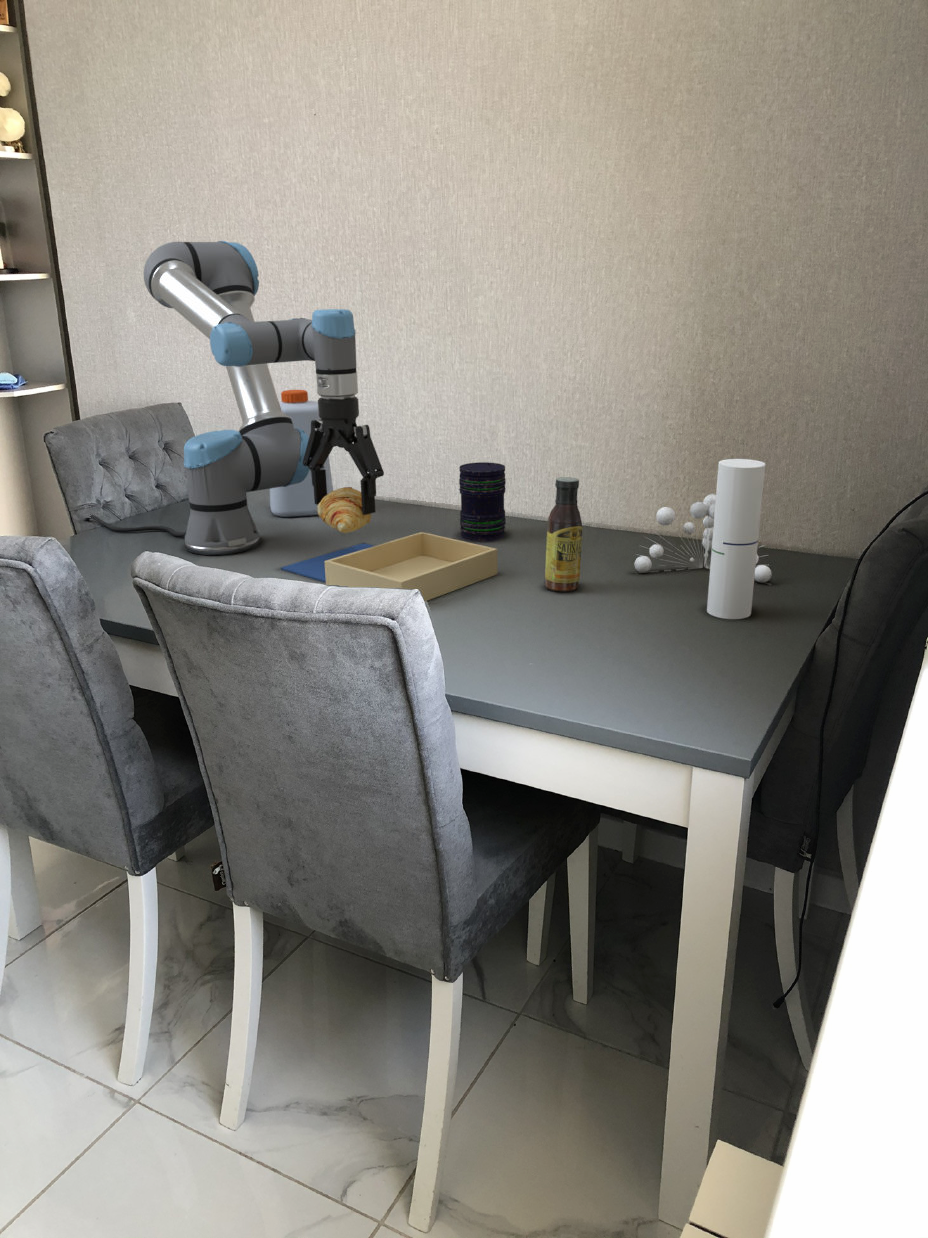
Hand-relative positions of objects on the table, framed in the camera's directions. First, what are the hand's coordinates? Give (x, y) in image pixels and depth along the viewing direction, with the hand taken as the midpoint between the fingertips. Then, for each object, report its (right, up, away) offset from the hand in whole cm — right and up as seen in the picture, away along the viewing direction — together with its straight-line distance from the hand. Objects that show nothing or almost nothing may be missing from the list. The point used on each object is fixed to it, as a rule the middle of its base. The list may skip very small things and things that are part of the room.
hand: (344, 508), depth 187 cm
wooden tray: (+14, -14, -7) cm, 21 cm away
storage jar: (+27, -4, +21) cm, 35 cm away
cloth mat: (0, -10, +4) cm, 11 cm away
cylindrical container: (+67, -20, -25) cm, 75 cm away
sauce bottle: (+41, -16, -12) cm, 46 cm away
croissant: (0, -3, +1) cm, 3 cm away
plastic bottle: (-16, +5, +46) cm, 48 cm away
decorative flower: (+66, -12, -3) cm, 67 cm away
